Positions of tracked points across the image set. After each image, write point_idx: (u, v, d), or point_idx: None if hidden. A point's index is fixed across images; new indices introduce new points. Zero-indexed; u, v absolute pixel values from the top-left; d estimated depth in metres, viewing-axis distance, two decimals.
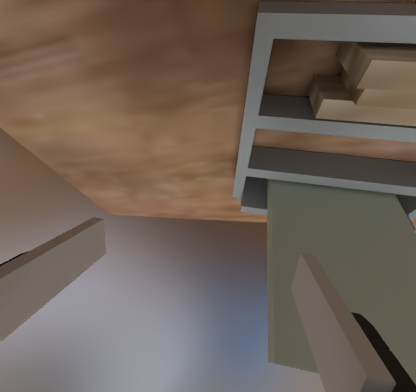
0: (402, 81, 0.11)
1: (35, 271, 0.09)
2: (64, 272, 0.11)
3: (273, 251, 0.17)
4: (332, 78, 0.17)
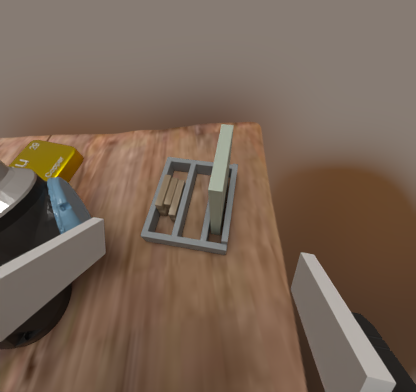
0: (161, 196, 0.43)
1: (35, 271, 0.09)
2: (64, 272, 0.11)
3: None
4: None
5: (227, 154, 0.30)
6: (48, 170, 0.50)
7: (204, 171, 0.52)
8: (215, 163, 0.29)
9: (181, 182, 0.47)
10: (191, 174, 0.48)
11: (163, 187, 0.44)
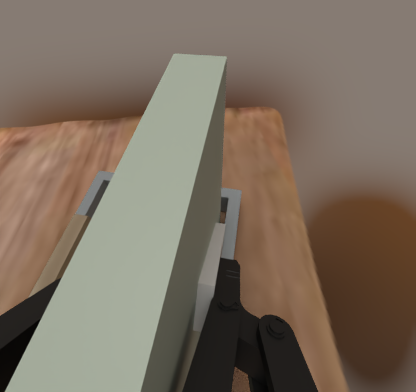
0: (51, 275, 0.17)
1: None
2: None
3: None
4: None
5: (177, 215, 0.04)
6: None
7: None
8: (64, 304, 0.03)
9: None
10: None
11: (62, 248, 0.18)
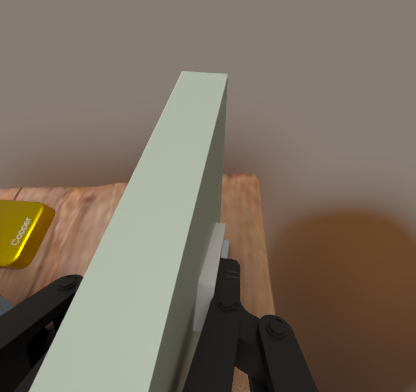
0: None
1: None
2: None
3: None
4: None
5: (188, 203, 0.05)
6: (14, 236, 0.44)
7: None
8: (100, 270, 0.04)
9: None
10: None
11: None
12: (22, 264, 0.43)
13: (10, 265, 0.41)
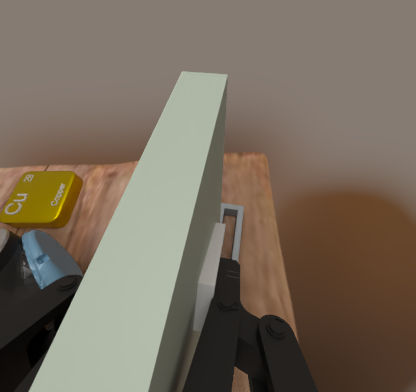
0: None
1: None
2: None
3: None
4: None
5: (188, 203, 0.05)
6: (52, 199, 0.49)
7: None
8: (99, 270, 0.04)
9: None
10: None
11: None
12: (61, 223, 0.49)
13: (52, 222, 0.47)
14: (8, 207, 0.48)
